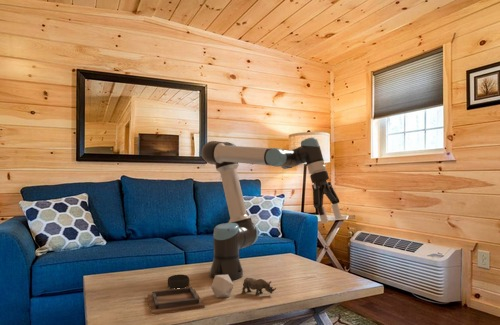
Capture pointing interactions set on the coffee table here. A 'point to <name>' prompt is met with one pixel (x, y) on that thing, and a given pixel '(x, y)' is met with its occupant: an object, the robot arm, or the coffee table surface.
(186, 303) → the board
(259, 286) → the rhino figurine
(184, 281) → the smart speaker
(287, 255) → the coffee table surface
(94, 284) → the coffee table surface
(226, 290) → the die
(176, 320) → the coffee table surface
